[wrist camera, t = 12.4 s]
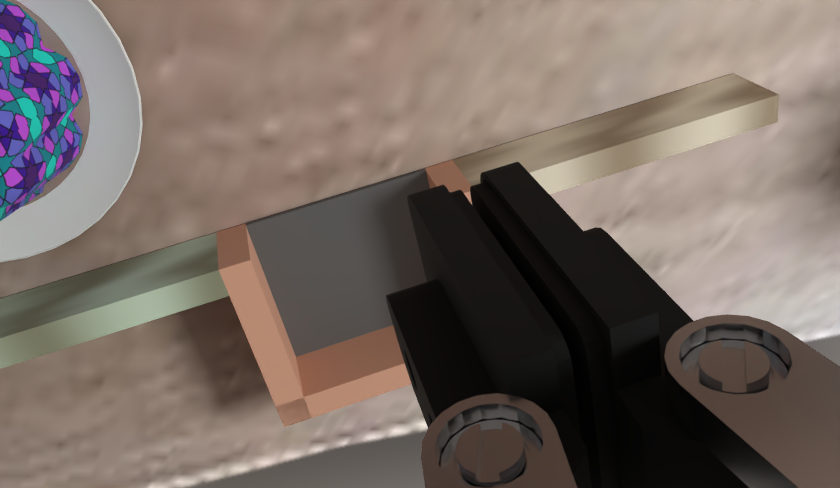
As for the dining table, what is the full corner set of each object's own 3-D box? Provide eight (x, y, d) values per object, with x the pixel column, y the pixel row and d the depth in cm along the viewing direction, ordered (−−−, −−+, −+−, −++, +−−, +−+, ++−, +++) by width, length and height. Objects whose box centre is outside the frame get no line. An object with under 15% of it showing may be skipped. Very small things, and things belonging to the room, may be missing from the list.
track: (741, -402, 25) (828, -436, 21) (733, 98, 34) (793, 130, 30) (-511, -116, 20) (-650, -102, 17) (-133, 368, 29) (-174, 439, 26)
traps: (289, -646, 19) (304, -714, 17) (483, 314, 36) (505, 351, 33) (-113, -575, 18) (-163, -639, 16) (277, 382, 35) (284, 427, 32)
